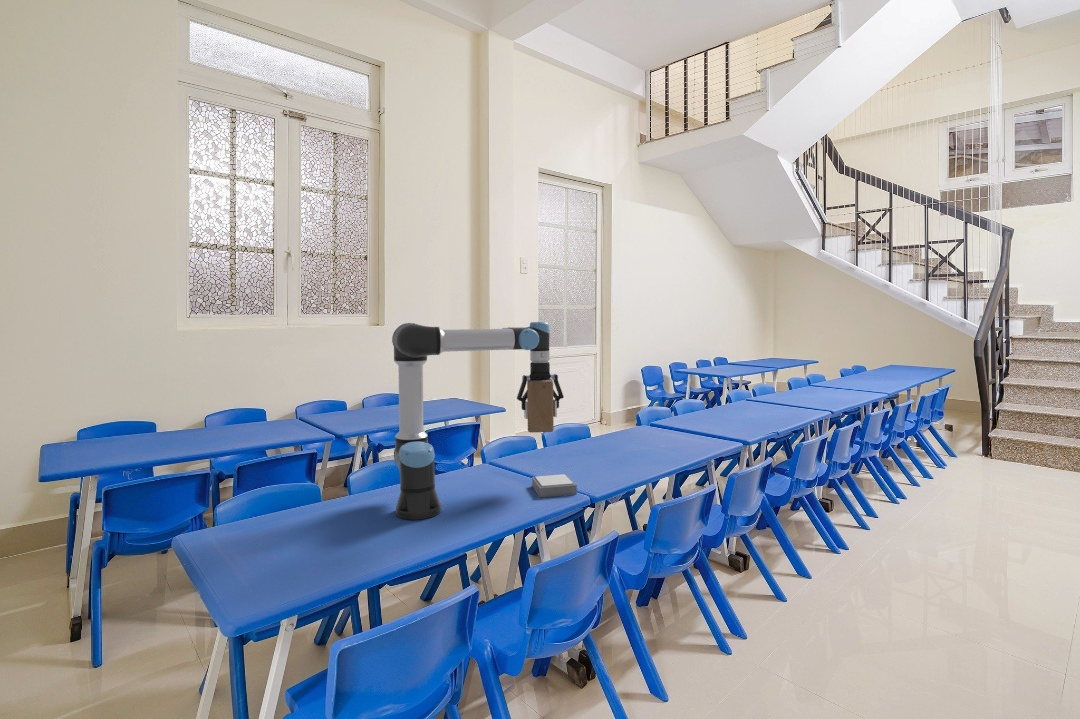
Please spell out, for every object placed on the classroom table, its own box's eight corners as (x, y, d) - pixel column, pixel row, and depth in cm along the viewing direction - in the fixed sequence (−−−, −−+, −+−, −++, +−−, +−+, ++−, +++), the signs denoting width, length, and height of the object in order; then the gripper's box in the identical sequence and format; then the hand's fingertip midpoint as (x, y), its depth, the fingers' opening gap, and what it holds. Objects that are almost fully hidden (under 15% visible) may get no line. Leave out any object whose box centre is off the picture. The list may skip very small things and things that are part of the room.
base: (540, 497, 211) (540, 486, 211) (532, 486, 225) (532, 476, 225) (576, 494, 214) (576, 483, 214) (566, 483, 228) (566, 473, 228)
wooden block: (553, 432, 220) (553, 381, 218) (527, 433, 220) (527, 381, 218) (552, 427, 230) (552, 377, 228) (527, 427, 230) (527, 378, 228)
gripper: (512, 363, 216) (513, 420, 218) (571, 361, 222) (571, 417, 224) (508, 361, 223) (509, 417, 225) (565, 359, 229) (566, 413, 231)
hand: (540, 417), depth 225 cm, fingers closed on wooden block, 11 cm apart
